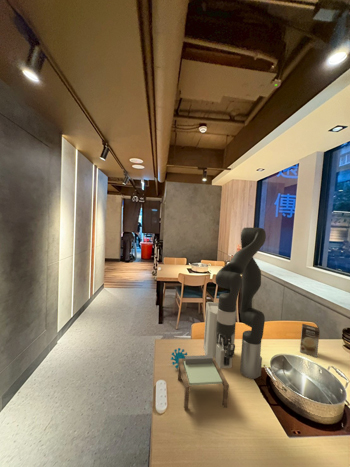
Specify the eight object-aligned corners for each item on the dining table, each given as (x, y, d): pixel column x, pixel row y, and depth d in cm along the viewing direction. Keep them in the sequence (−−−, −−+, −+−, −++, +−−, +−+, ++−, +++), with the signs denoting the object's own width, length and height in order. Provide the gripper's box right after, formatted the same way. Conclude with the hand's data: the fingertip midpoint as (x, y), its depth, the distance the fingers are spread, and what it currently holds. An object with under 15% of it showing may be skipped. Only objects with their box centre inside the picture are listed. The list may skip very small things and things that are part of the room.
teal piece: (172, 369, 105) (171, 347, 112) (168, 371, 109) (167, 350, 116) (192, 369, 108) (190, 347, 115) (188, 371, 112) (186, 350, 119)
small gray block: (226, 359, 89) (227, 343, 89) (231, 367, 84) (232, 350, 84) (215, 360, 88) (216, 344, 88) (219, 368, 83) (220, 351, 83)
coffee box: (299, 352, 130) (301, 326, 129) (299, 347, 135) (301, 323, 135) (317, 358, 125) (319, 331, 124) (317, 352, 130) (319, 327, 130)
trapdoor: (183, 363, 100) (183, 355, 100) (211, 362, 102) (212, 355, 102) (189, 385, 86) (190, 376, 86) (222, 383, 88) (222, 375, 88)
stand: (177, 377, 102) (178, 358, 101) (213, 376, 104) (214, 357, 104) (184, 410, 84) (185, 387, 83) (227, 407, 86) (228, 384, 86)
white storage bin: (215, 342, 136) (217, 299, 135) (234, 353, 125) (237, 307, 124) (193, 351, 124) (196, 305, 123) (213, 365, 113) (216, 314, 112)
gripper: (243, 328, 79) (240, 372, 79) (227, 312, 93) (225, 350, 94) (224, 328, 78) (221, 373, 78) (211, 312, 92) (209, 350, 92)
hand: (223, 360), depth 86 cm, fingers closed on small gray block, 5 cm apart
